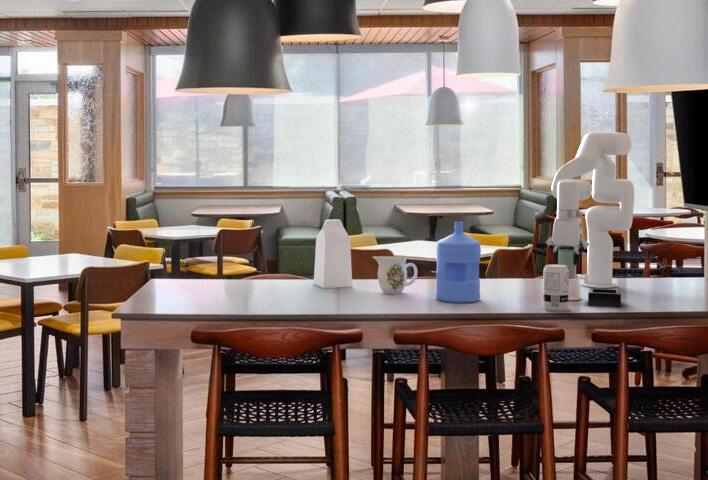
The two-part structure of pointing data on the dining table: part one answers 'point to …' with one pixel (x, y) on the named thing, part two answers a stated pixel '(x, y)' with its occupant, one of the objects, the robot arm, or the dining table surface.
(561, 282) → the supplement can
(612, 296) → the black square frame
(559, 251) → the cup
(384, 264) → the pitcher
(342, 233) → the milk
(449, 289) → the water jug
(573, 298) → the coaster
